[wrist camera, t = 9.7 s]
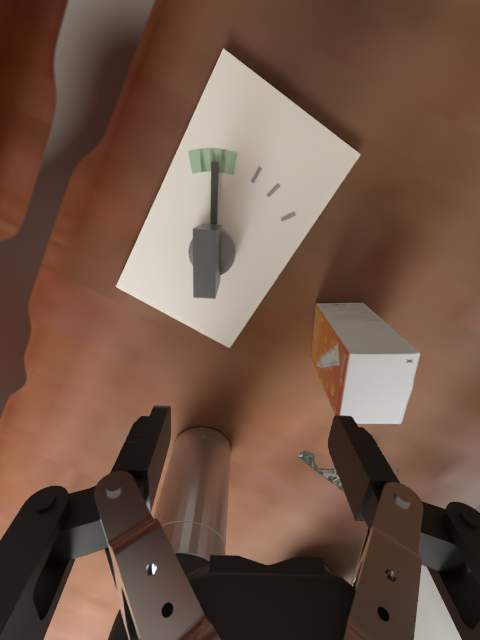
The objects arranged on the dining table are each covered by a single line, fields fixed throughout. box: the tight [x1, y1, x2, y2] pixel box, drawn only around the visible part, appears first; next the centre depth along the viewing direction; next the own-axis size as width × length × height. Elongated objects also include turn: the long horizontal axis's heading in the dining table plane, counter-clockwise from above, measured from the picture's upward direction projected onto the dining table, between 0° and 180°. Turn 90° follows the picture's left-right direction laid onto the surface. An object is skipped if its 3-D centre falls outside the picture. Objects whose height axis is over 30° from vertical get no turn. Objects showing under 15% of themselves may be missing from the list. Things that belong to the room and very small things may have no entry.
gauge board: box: [116, 48, 361, 348], centre depth 32 cm, size 26×16×2 cm, turn 149°
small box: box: [311, 303, 420, 424], centre depth 32 cm, size 8×6×13 cm
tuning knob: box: [188, 162, 236, 299], centre depth 27 cm, size 12×5×8 cm, turn 177°
